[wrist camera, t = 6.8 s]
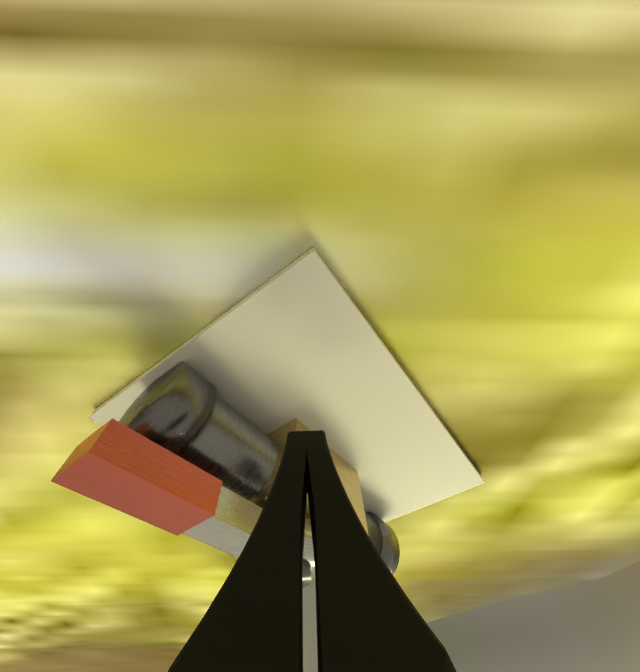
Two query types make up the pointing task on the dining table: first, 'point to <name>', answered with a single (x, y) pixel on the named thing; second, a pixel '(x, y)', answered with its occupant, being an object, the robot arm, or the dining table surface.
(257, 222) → the dining table surface
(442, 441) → the mounting board
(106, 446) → the lever
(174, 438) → the valve body
